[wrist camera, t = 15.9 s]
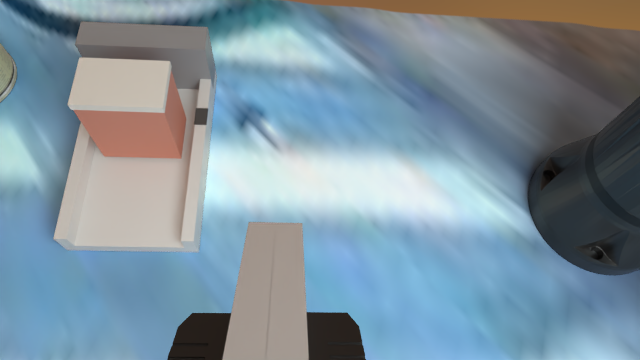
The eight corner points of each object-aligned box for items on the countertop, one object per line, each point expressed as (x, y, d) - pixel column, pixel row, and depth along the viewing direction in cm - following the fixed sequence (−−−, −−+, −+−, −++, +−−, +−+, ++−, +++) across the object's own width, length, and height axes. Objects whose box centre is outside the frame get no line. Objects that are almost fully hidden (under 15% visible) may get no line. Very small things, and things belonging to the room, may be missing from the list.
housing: (199, 252, 51) (185, 222, 44) (66, 250, 50) (28, 219, 43) (217, 76, 61) (208, 27, 53) (106, 72, 60) (80, 21, 52)
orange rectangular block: (182, 159, 54) (162, 107, 45) (103, 157, 53) (67, 104, 44) (187, 117, 56) (169, 61, 47) (111, 115, 55) (79, 57, 46)
